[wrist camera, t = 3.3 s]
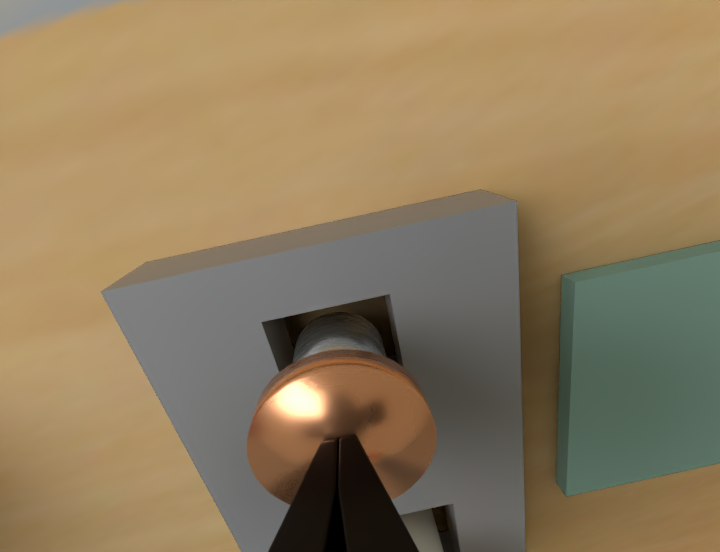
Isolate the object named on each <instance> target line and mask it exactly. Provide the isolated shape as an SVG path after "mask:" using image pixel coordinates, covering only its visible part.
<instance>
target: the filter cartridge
mask: <svg viewBox="0 0 720 552" xmlns="http://www.w3.org/2000/svg"><path fill="white" fill-rule="evenodd" d="M400 517H401V518H402V520H403V522H404V524H405V526H406V528H407V530H408V531H409V533H410V535H411V537H412V539H413V541H414V542H415V544H416V546H417V548H418V550H419V552H444V551H443V548H442V544H441V541H440V537H439V533H438V530H437V526H436V522H435V519H434V515H433V512H432V508H430V509H426V510H421V511H416V512H412V513H407V514H403V515H400Z"/></svg>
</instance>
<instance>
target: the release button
mask: <svg viewBox="0 0 720 552" xmlns="http://www.w3.org/2000/svg"><path fill="white" fill-rule="evenodd" d="M354 434H355V435H356V436H357V437H358V439H359V441H360V442H361V444H362V446H363V448H364V450H365V452H366V454H367V455H368V457H369V459H370V461H371V463H372V465H373V467H374V468H375V470H376V472H377V474H378V476H379V478H380V479H381V481H382V483H383V485H384V487H385V489H386V491H387V492H388V494H389V496H390V498H391V500H393V499H395V498H397V497H398V496H400V495H402V494H403V493H404V492H406V491H407V490H408V489H410V488H411V487H412V486H413V485H414V484H415V483H416V482H417V481H418V480H419V479H420V478H421V477H422V476H423V474H424V473H425V472H426V470H427V468H428V467H429V465H430V463H431V461H432V459H433V456H434V453H435V449H436V442H437V433H436V426H435V422H434V419H433V416H432V413H431V411H430V408H429V405H428V403H427V400H426V397H425V395H424V392H423V390H422V388H421V386H420V385H419V383H418V382H417V380H416V379H415V378H414V377H413V376H412V374H411V373H410V372H409V371H407V370H406V369H405V368H404V367H403V366H401V365H400V364H398V363H396V362H395V361H393V360H391V359H389V358H387V357H386V353H385V350H384V346H383V342H382V338H381V336H380V334H379V332H378V330H377V329H376V328H375V326H374V325H373V324H372V323H370V322H369V321H368V320H366V319H365V318H363V317H361V316H359V315H356V314H352V313H346V312H335V313H329V314H325V315H322V316H320V317H318V318H316V319H314V320H313V321H311V322H310V323H309V324H308V325H306V326H305V327H304V329H303V330H302V331H301V333H300V335H299V336H298V339H297V342H296V346H295V352H294V358H293V363H292V364H290V365H288V366H287V367H286V368H284V369H283V370H281V371H280V372H279V373H278V374H277V375H276V376H275V377H274V378H272V379H271V381H270V382H269V383H268V384H267V386H266V387H265V388H264V390H263V392H262V393H261V395H260V397H259V399H258V402H257V405H256V408H255V411H254V415H253V419H252V422H251V426H250V429H249V433H248V438H247V456H248V461H249V464H250V467H251V470H252V472H253V473H254V475H255V477H256V478H257V480H258V481H259V482H260V484H261V485H262V486H263V487H264V488H265V489H266V490H267V491H268V492H269V493H271V494H272V495H274V496H275V497H276V498H278V499H280V500H282V501H283V502H285V503H287V504H289V505H291V503H292V501H293V499H294V497H295V494H296V492H297V490H298V488H299V486H300V484H301V482H302V480H303V478H304V476H305V474H306V472H307V470H308V468H309V466H310V463H311V461H312V459H313V457H314V455H315V453H316V451H317V449H318V447H319V445H320V443H321V442H322V441H326V440H331V439H335V438H336V439H338V440H339V439H340V438H341V437H344V436H349V435H354Z"/></svg>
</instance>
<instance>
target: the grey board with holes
mask: <svg viewBox="0 0 720 552" xmlns="http://www.w3.org/2000/svg"><path fill="white" fill-rule="evenodd" d="M101 293H102V295H103V297H104V299H105V301H106V302H107V304H108V306H109V308H110V310H111V312H112V313H113V315H114V317H115V319H116V321H117V323H118V325H119V326H120V328H121V330H122V332H123V334H124V336H125V337H126V339H127V341H128V343H129V345H130V347H131V349H132V350H133V352H134V354H135V356H136V358H137V360H138V361H139V363H140V365H141V367H142V369H143V371H144V373H145V374H146V376H147V378H148V380H149V382H150V384H151V385H152V387H153V389H154V391H155V393H156V395H157V396H158V398H159V400H160V402H161V404H162V406H163V408H164V409H165V411H166V413H167V415H168V417H169V419H170V420H171V422H172V424H173V426H174V428H175V430H176V432H177V433H178V435H179V437H180V439H181V441H182V443H183V444H184V446H185V448H186V450H187V452H188V454H189V456H190V457H191V459H192V461H193V463H194V465H195V467H196V468H197V470H198V472H199V474H200V476H201V478H202V479H203V481H204V483H205V485H206V487H207V489H208V491H209V492H210V494H211V496H212V498H213V500H214V502H215V503H216V505H217V507H218V509H219V511H220V513H221V515H222V516H223V518H224V520H225V522H226V524H227V526H228V527H229V529H230V531H231V533H232V535H233V537H234V539H235V540H236V542H237V544H238V546H239V548H240V550H241V551H242V552H268V550H269V548H270V546H271V544H272V542H273V540H274V538H275V536H276V534H277V532H278V530H279V528H280V525H281V523H282V521H283V519H284V517H285V515H286V513H287V511H288V509H289V507H290V505H289V504H287V503H285V502H283V501H282V500H280V499H278V498H276V497H275V496H274V495H272V494H271V493H269V492H268V491H267V490H266V489H265V488H264V487H263V486H262V485H261V484H260V482H259V481H258V480H257V478H256V477H255V475H254V473H253V472H252V470H251V467H250V464H249V461H248V456H247V438H248V433H249V429H250V426H251V422H252V419H253V415H254V411H255V408H256V405H257V402H258V399H259V397H260V395H261V393H262V392H263V390H264V388H265V387H266V386H267V384H268V383H269V382H270V381H271V379H272V378H274V377H275V376H276V375H277V374H278V373H279V372H280V371H281V370H283V369H284V368H286V367H287V366H288V365H290V364H292V363H293V358H294V349H293V346H292V343H291V340H290V337H289V334H288V331H287V327H286V324H285V321H284V318H283V317H287V316H292V315H296V314H301V313H306V312H310V311H315V310H319V309H324V308H328V307H333V306H338V305H342V304H347V303H351V302H356V301H361V300H365V299H370V298H374V297H379V296H383V295H385V300H386V305H387V310H388V315H389V320H390V325H391V331H392V336H393V341H394V346H395V351H396V355H391V356H387V358H389V359H391V360H393V361H395V362H396V363H398V364H400V365H401V366H403V367H404V368H405V369H406V370H407V371H409V372H410V373H411V374H412V376H413V377H414V378H415V379H416V380H417V382H418V383H419V385H420V386H421V388H422V390H423V392H424V395H425V397H426V400H427V403H428V405H429V408H430V411H431V413H432V416H433V419H434V422H435V426H436V433H437V442H436V449H435V453H434V456H433V459H432V461H431V463H430V465H429V467H428V468H427V470H426V472H425V473H424V474H423V476H422V477H421V478H420V479H419V480H418V481H417V482H416V483H415V484H414V485H413V486H412V487H411V488H410V489H408V490H407V491H406V492H404V493H403V494H402V495H400V496H398V497H397V498H395V499H393V500H392V502H393V504H394V505H395V507H396V509H397V511H398V513H399V515H403V514H407V513H412V512H416V511H421V510H426V509H430V508H435V507H439V506H444V505H445V511H446V518H447V524H448V531H444V532H439V537H440V541H441V544H442V548H443V551H444V552H526V534H525V495H524V456H523V416H522V377H521V338H520V299H519V260H518V221H517V201H516V200H513V199H509V198H506V197H503V196H500V195H497V194H494V193H490V192H487V191H484V190H481V189H480V190H476V191H471V192H467V193H462V194H458V195H453V196H448V197H444V198H439V199H435V200H430V201H425V202H421V203H416V204H412V205H407V206H403V207H398V208H393V209H389V210H384V211H380V212H375V213H370V214H366V215H361V216H357V217H352V218H348V219H343V220H338V221H334V222H329V223H325V224H320V225H315V226H311V227H306V228H302V229H297V230H292V231H288V232H283V233H279V234H274V235H270V236H265V237H260V238H256V239H251V240H247V241H242V242H237V243H233V244H228V245H224V246H219V247H215V248H210V249H205V250H201V251H196V252H192V253H187V254H182V255H178V256H173V257H169V258H164V259H160V260H155V261H150V262H146V263H144V264H143V265H141V266H139V267H138V268H136V269H135V270H133V271H132V272H130V273H129V274H127V275H126V276H124V277H122V278H121V279H119V280H118V281H116V282H115V283H113V284H112V285H110V286H109V287H107V288H106V289H104V290H102V291H101Z"/></svg>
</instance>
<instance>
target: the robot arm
mask: <svg viewBox="0 0 720 552" xmlns="http://www.w3.org/2000/svg"><path fill="white" fill-rule="evenodd" d="M268 552H419V550H418V548H417V546H416V544H415V542H414V541H413V539H412V537H411V535H410V533H409V531H408V530H407V528H406V526H405V524H404V522H403V520H402V518H401V517H400V515H399V513H398V511H397V509H396V507H395V505H394V504H393V502H392V500H391V498H390V496H389V494H388V492H387V491H386V489H385V487H384V485H383V483H382V481H381V479H380V478H379V476H378V474H377V472H376V470H375V468H374V467H373V465H372V463H371V461H370V459H369V457H368V455H367V454H366V452H365V450H364V448H363V446H362V444H361V442H360V441H359V439H358V437H357V436H356V435H355V434H354V435H349V436H344V437H341V438H340V439H339V440H338V439H336V438H335V439H331V440H326V441H322V442H321V443H320V445H319V447H318V449H317V451H316V453H315V455H314V457H313V459H312V461H311V463H310V466H309V468H308V470H307V472H306V474H305V476H304V478H303V480H302V482H301V484H300V486H299V488H298V490H297V492H296V494H295V497H294V499H293V501H292V503H291V505H290V507H289V509H288V511H287V513H286V515H285V517H284V519H283V521H282V523H281V525H280V528H279V530H278V532H277V534H276V536H275V538H274V540H273V542H272V544H271V546H270V548H269V550H268Z"/></svg>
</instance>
